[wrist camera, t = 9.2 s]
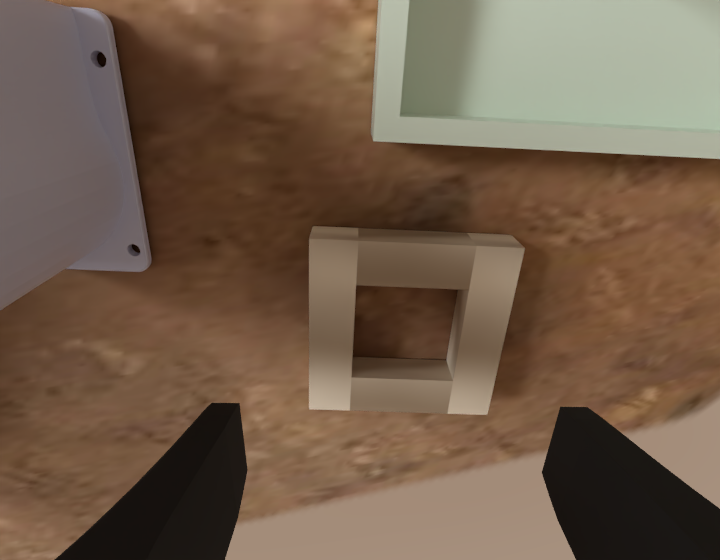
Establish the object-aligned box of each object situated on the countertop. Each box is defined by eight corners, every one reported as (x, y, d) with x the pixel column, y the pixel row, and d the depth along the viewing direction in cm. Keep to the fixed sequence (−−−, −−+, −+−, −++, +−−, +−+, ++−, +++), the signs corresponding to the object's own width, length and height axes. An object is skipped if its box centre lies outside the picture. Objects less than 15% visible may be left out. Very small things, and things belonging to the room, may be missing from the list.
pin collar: (312, 225, 18) (308, 238, 16) (511, 234, 18) (525, 248, 17) (312, 386, 21) (308, 409, 20) (478, 392, 22) (487, 414, 20)
